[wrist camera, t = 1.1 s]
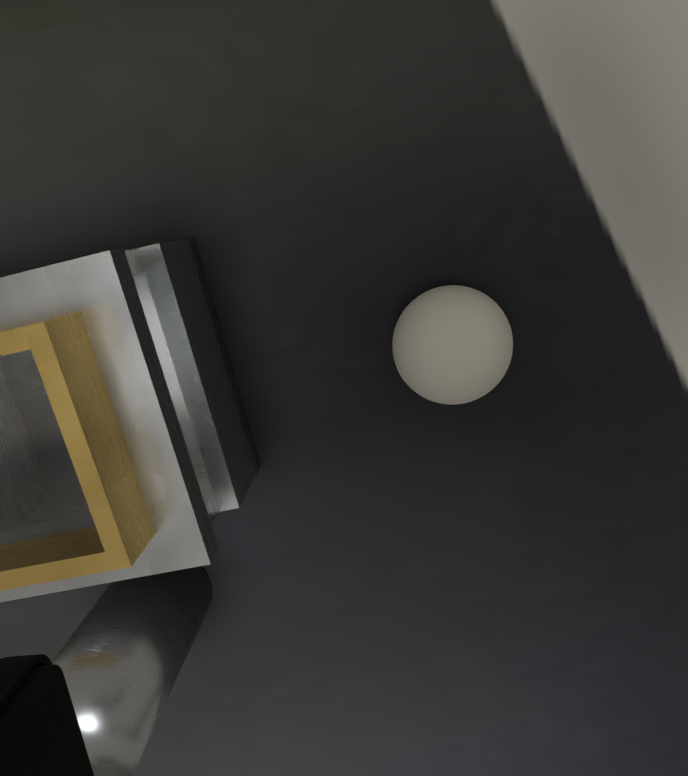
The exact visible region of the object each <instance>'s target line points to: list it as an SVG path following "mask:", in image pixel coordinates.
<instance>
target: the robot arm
mask: <svg viewBox="0 0 688 776" xmlns="http://www.w3.org/2000/svg"><path fill="white" fill-rule="evenodd" d="M0 776H94V773H93V770H92V767H91V763H90V760H89V757H88V753H87V750H86V747H85V743H84V740H83V737H82V733H81V730H80V727H79V723H78V720H77V717H76V714H75V710H74V707H73V704H72V700H71V697H70V694H69V690H68V687H67V684H66V680H65V677H64V674H63V671H62V669H61V667H60V666H58V665H55V664H52V663H51V660H50V659H49V658H48V657H47V656H46V655H41V654H39V655H27V656H14V657H4V658H2V659H0Z"/></svg>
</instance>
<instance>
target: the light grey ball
mask: <svg viewBox="0 0 688 776" xmlns="http://www.w3.org/2000/svg"><path fill="white" fill-rule="evenodd" d="M392 351H393V358H394V361H395V364H396V367H397V370H398V372H399V374H400V375H401V377H402V379H403V380H404V381H405V383H406V384H407V385H408V386H409V387H410V388H411V389H412V390H413V391H415V392H416V393H417V394H419V395H420V396H422V397H424V398H426V399H428V400H430V401H433V402H436V403H441V404H449V405H452V404H463V403H467V402H471V401H474V400H476V399H479V398H480V397H482V396H484V395H486V394H487V393H488V392H490V391H491V390H492V389H493V388H494V387H495V386H496V385H497V384H498V383H499V382H500V381H501V380H502V378H503V376H504V375H505V373H506V371H507V369H508V367H509V364H510V361H511V358H512V352H513V336H512V331H511V327H510V324H509V322H508V319H507V317H506V316H505V314H504V312H503V311H502V309H501V308H500V307H499V305H498V304H497V303H496V302H495V301H494V300H493V299H491V298H490V297H489V296H487V295H486V294H484V293H482V292H480V291H478V290H475V289H473V288H470V287H466V286H459V285H447V286H440V287H437V288H433V289H431V290H428V291H426V292H424V293H423V294H421V295H419V296H418V297H416V298H415V299H414V300H413V301H412V302H411V303H410V304H409V305H408V306H407V307H406V308H405V309H404V311H403V312H402V314H401V316H400V317H399V319H398V321H397V324H396V326H395V330H394V334H393V341H392Z"/></svg>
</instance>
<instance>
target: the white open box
mask: <svg viewBox="0 0 688 776" xmlns="http://www.w3.org/2000/svg"><path fill="white" fill-rule="evenodd" d="M259 468H260V466H259V462H258V459H257V455H256V452H255V448H254V445H253V441H252V438H251V434H250V431H249V427H248V424H247V421H246V417H245V414H244V410H243V407H242V403H241V400H240V396H239V393H238V389H237V386H236V382H235V379H234V375H233V372H232V369H231V365H230V362H229V358H228V355H227V351H226V348H225V344H224V341H223V337H222V334H221V330H220V327H219V324H218V320H217V317H216V313H215V310H214V306H213V303H212V299H211V296H210V292H209V289H208V285H207V282H206V278H205V275H204V272H203V268H202V265H201V261H200V258H199V254H198V251H197V247H196V244H195V240H194V238H190V239H183V240H176V241H169V242H163V243H157V244H153V245H149V246H145V247H141V248H137V249H131V250H124V248H122V249H115V250H109V251H105V252H101V253H97V254H93V255H89V256H85V257H81V258H77V259H73V260H69V261H65V262H61V263H57V264H53V265H49V266H45V267H41V268H37V269H33V270H29V271H25V272H21V273H17V274H13V275H9V276H5V277H1V278H0V602H5V601H10V600H16V599H21V598H27V597H32V596H38V595H43V594H49V593H54V592H60V591H65V590H71V589H77V588H82V587H88V586H93V585H99V584H104V583H110V582H115V581H121V580H126V579H132V578H138V577H143V576H149V575H154V574H160V573H165V572H171V571H176V570H182V569H187V568H193V567H198V566H204V565H210V564H211V563H212V561H213V559H214V557H215V555H216V553H217V551H218V549H219V547H218V544H217V541H216V538H215V535H214V532H213V528H212V523H213V522H214V520H215V518H216V516H217V515H218V513H219V512H220V511H226V510H231V509H236V508H239V507H240V505H241V503H242V501H243V499H244V497H245V495H246V493H247V491H248V490H249V488H250V486H251V484H252V482H253V480H254V478H255V476H256V474H257V472H258V470H259Z"/></svg>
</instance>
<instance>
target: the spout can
mask: <svg viewBox="0 0 688 776" xmlns="http://www.w3.org/2000/svg"><path fill="white" fill-rule="evenodd" d="M211 599H212V586H211V582H210V579H209V577H208V574H207V573H206V571H205V569H204V568H203V567H202V566H198V567H193V568H187V569H182V570H176V571H171V572H165V573H160V574H154V575H149V576H143V577H138V578H132V579H126V580H121V581H115V582H111V583H110V585H109V586H108V587H107V589H106V590H105V591H104V593H103V594H102V595H101V597H100V598H99V599H98V601H97V602H96V604H95V605H94V606H93V608H92V609H91V610H90V612H89V613H88V614H87V616H86V617H85V618H84V620H83V621H82V622H81V624H80V625H79V626H78V628H77V629H76V630H75V632H74V633H73V634H72V636H71V637H70V638H69V640H68V641H67V642H66V644H65V645H64V646H63V648H62V649H61V650H60V652H59V653H58V654H57V656H56V657H55V658H54V660H53V661H52V662H51V663H52V664H55V665H58V666H60V667H61V669H62V671H63V674H64V677H65V680H66V684H67V687H68V690H69V694H70V697H71V700H72V704H73V707H74V710H75V714H76V717H77V720H78V723H79V727H80V730H81V733H82V737H83V740H84V743H85V747H86V750H87V753H88V757H89V760H90V763H91V767H92V770H93V773H94V776H131V775H132V774H133V772H134V770H135V769H136V767H137V764H138V762H139V760H140V758H141V756H142V753H143V751H144V749H145V747H146V745H147V742H148V740H149V738H150V736H151V734H152V731H153V729H154V727H155V725H156V723H157V720H158V718H159V716H160V714H161V712H162V709H163V707H164V705H165V703H166V701H167V698H168V696H169V694H170V692H171V690H172V687H173V685H174V683H175V681H176V679H177V676H178V674H179V672H180V670H181V668H182V665H183V663H184V661H185V659H186V657H187V654H188V652H189V650H190V648H191V646H192V643H193V641H194V639H195V637H196V635H197V632H198V630H199V628H200V626H201V624H202V621H203V619H204V617H205V615H206V613H207V610H208V608H209V606H210V603H211Z"/></svg>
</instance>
